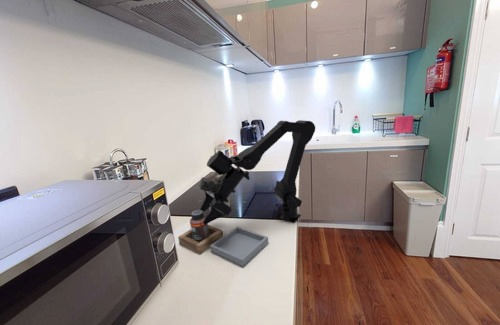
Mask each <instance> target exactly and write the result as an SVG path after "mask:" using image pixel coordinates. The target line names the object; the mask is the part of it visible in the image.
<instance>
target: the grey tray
mask: <svg viewBox="0 0 500 325" xmlns="http://www.w3.org/2000/svg"><path fill="white" fill-rule="evenodd" d="M268 245H269V236H266V235H264V234H260V233H258V232H256V231H252V230H249V229H246V228H243V227H241V226H236V227H234V228H232V230H230V231H229V232H227V233H225V235H224V234H223V237H221V238H220V239H219V240H217V241H216V242H214V243H213V244H212V245H210V248H209V249H210V253H212V254H213V255H216V256H218V257H220V258H221V259H225V260H226V261H229V262H231V263H232V264H235V265H237V266H239V267H241V268H245V267H246V266H247V265H248V264H249V263H250V262H251V261H252V260H253V259H254V258H255V257H256V256H257V255H259V253H260V252H262V251H263V249H264V248H265V247H266V246H268Z"/></svg>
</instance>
